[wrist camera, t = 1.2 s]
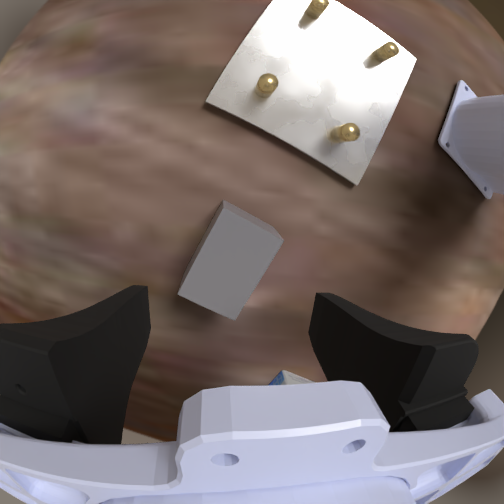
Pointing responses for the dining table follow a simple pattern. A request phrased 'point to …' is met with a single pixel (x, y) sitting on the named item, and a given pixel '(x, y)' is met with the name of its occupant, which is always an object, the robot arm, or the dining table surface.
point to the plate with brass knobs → (316, 82)
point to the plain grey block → (229, 261)
